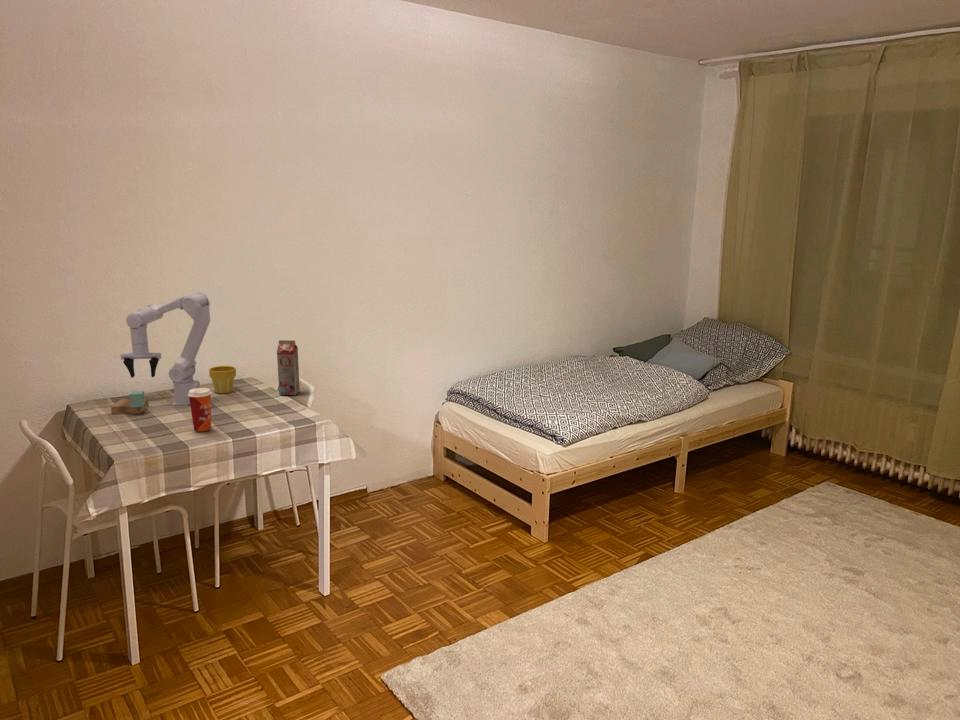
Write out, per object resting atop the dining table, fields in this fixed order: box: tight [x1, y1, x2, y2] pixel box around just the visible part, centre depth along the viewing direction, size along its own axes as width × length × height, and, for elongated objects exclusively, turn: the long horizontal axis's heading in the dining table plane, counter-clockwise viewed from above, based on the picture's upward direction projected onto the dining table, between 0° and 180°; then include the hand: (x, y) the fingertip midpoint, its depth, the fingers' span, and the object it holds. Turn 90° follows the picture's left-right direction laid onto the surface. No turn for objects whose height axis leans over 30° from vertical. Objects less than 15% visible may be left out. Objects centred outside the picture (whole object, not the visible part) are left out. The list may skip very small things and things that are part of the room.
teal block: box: [129, 390, 146, 407], centre depth 268 cm, size 4×4×5 cm
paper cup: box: [188, 387, 212, 432], centre depth 252 cm, size 8×8×14 cm
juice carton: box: [276, 339, 301, 396], centre depth 297 cm, size 7×7×22 cm
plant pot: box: [208, 365, 237, 394], centre depth 299 cm, size 10×10×10 cm
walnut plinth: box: [110, 398, 149, 415], centre depth 273 cm, size 10×10×3 cm
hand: (143, 376), depth 285 cm, fingers open, 7 cm apart
